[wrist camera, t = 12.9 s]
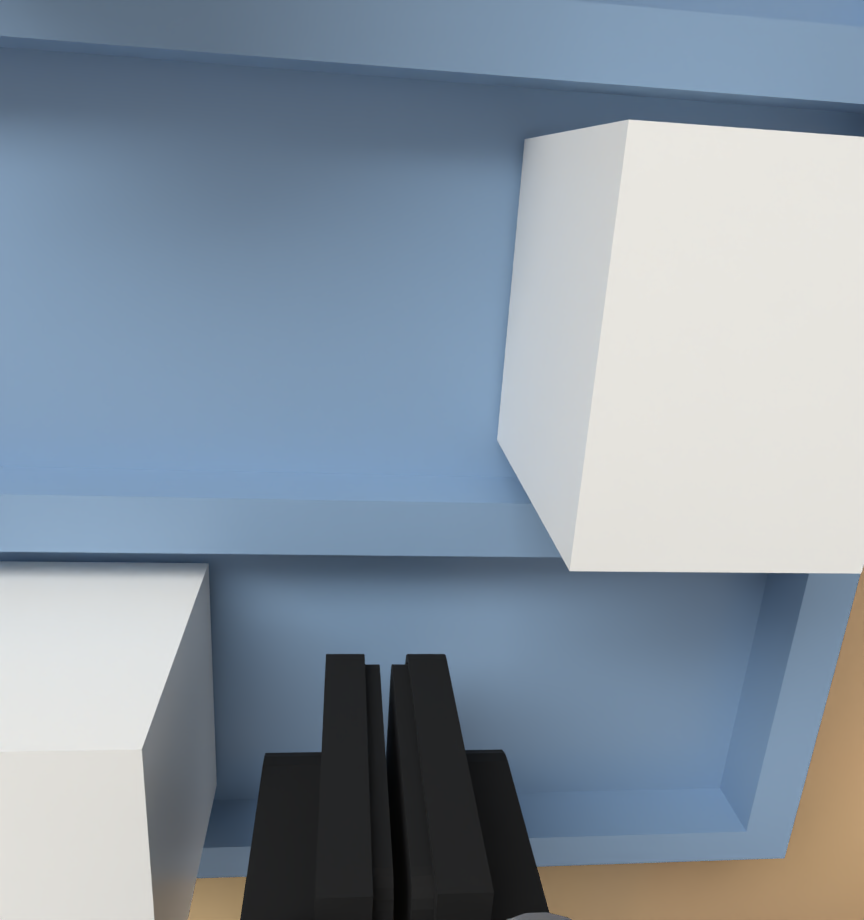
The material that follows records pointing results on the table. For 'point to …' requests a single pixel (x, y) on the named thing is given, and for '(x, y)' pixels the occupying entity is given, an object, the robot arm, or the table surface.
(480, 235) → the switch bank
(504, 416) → the white rectangular block
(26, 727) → the white square block
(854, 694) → the table surface
